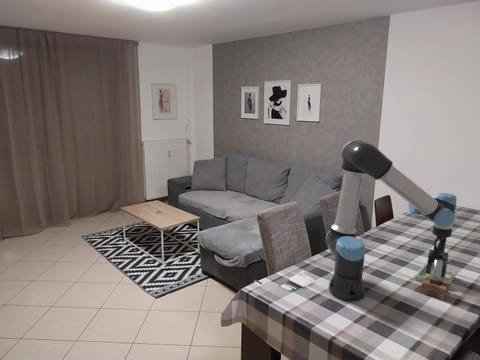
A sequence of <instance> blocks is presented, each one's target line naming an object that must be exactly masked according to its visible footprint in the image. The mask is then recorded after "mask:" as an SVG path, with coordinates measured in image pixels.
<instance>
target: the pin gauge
mask: <svg viewBox="0 0 480 360" xmlns="http://www.w3.org/2000/svg"><path fill="white" fill-rule="evenodd" d="M442 265H443V260H440V259H435V260H434V267H433V275H432V283H434V284H437V285H440V280H441V273H442Z"/></svg>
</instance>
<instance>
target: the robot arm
mask: <svg viewBox="0 0 480 360" xmlns="http://www.w3.org/2000/svg"><path fill="white" fill-rule="evenodd" d="M340 154H341V160H342V164H341V170H342V171H341V172H343V177H342V184H341V189H340V193H339V200H338V205H337V211H336V216H335V219H334V220H335V222H334V223H333V224H331V225H330V230H328V232H327V233H326V235H325V236H326V237H325V243H326V246H327V249H328V250H329V251H330V253H331V255H332V256H333V258H334V272H333V275H332V276H331V279H330V281H329V284H328V291H329V292H330V294H331V295H332V296H334V297H336V298H338V299H340V300H344V301H351V302H352V301H353V302H354V301H361V300H362V299H363V298H365V296H366V288H365V284H364V283H365V282H364V280H363V273H364V265H365V263H364V262H365V255H366V245H365V243H364V242H363V241H362V239H359V238H356V237H357V229H356V228H355V224H356V219H357V214H358V208H359V203H360V198H361V195H362V190H363V189H362V187H363V184H364V178H365V176H370V177H371V178H373V180H375V181H381V182H382V183H383V184H384V185H386V186H387V187H388V188H389V189H390V190H392V191H393V192H394V193H396V194H397V195H398V196H400V197H401V198H402V199H404V200H405V201H406V202H407V203H408V210H409V212H410V213H411V215H417V216H418V215H421V216H423V217H424V218H426V219H428V220H430V222H433V226H432V235H434V236H436V237H435V239H434V243H433V249H432V250H433V256H432V261H430V262H432V268H431V274H430V275H433V267H434V260H435V259H440V254H441V252H445V251H446V244H447V238H451V236H452V232H453V229H452V228H453V225H455V219H456V217H455V213H456V208H457V196H456V195H455V194H452V193H446V192H441V193H440V192H439V193H438V194H437V197H432V195H430V194H429V193H428V192H426V191H425V190H424V189H423V188H421V187H420V186H419V185H417V184H416V183H415V182H414V181H413V180H411V179H410V178H409V177H407V176H406V175H405V174H404V173H403V172H402V171H400V169H399V170H398V168H396V167H395V166H394V165H393V164H394V163H393V161H392V160H390V158H388V157H387V156H386V155H385V154H384V153H382V151H381V150H380V149H378V148H377V147H376V146H375V145H373V144H371V143H369V142H365V141H363V140H358V139H357V140H355V139H353V140H351V141H348V142H347V143H346V144H344V146H343V147H342V149H341V151H340Z"/></svg>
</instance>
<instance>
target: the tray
mask: <svg viewBox="0 0 480 360" xmlns="http://www.w3.org/2000/svg"><path fill="white" fill-rule="evenodd" d="M426 269H427V264H426V263H424V264H423V265H422V266H421V268H419V270H417V272H416V274H415V275H414V281H418V282H421V283H422V282H423V281H424V279H425V278H426V277H427V275H429V276H432V275H430V274H426ZM455 278H456V272H455V271H450V270H449V269H448V270H447V269H446V273H445V278H443V277H441V279H443V280H446V281H449V282H450V286H449V288H450V287H451V285H452V283H453V282H454V279H455Z"/></svg>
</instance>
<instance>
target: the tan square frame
mask: <svg viewBox="0 0 480 360" xmlns="http://www.w3.org/2000/svg"><path fill="white" fill-rule="evenodd" d="M449 286H450V287H451V285H450V282H449V281H446V280H443V279H441V280H440V285H437V284H434V283H432V276H429V275H427V277H426V278H425V279H424V281H423V282H421V288H420V289H421V290H420V293H421V294H423V295H427V296H430V297H433V298H434V299H435V298H436V299H439V300H442V301H445V299H446V298H447V296H448V294H449V291H450V287H449Z"/></svg>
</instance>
